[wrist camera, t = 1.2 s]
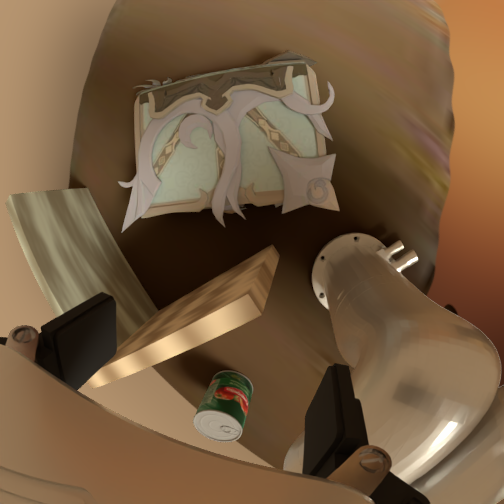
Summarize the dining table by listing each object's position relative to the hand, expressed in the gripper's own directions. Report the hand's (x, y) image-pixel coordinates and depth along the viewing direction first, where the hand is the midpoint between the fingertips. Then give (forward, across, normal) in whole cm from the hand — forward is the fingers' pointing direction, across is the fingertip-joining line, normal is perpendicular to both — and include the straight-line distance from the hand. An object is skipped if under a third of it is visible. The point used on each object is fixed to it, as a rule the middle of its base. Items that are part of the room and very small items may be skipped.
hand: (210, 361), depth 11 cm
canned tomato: (+31, +1, +29) cm, 42 cm away
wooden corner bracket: (+31, +18, +2) cm, 35 cm away
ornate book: (+31, +10, -12) cm, 35 cm away
